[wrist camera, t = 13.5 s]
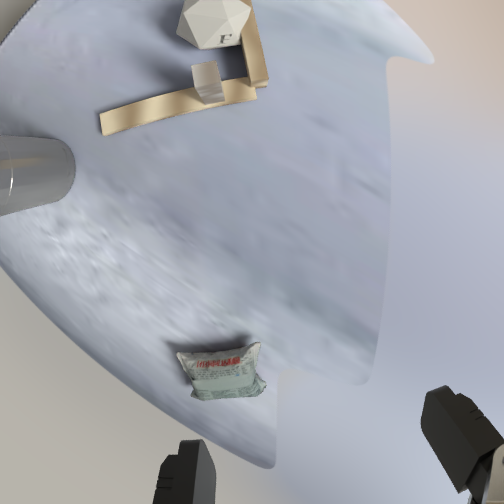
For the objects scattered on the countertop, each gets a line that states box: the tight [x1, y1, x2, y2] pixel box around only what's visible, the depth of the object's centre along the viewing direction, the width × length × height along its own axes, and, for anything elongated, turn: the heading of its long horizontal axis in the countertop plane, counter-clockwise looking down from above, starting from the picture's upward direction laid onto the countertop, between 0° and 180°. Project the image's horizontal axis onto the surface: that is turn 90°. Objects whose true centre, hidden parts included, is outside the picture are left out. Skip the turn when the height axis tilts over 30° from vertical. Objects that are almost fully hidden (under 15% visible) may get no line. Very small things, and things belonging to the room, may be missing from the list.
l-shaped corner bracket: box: [100, 0, 269, 136], centre depth 30 cm, size 22×17×10 cm
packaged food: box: [176, 342, 267, 401], centre depth 44 cm, size 9×12×5 cm
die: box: [176, 0, 251, 50], centre depth 30 cm, size 8×9×10 cm
